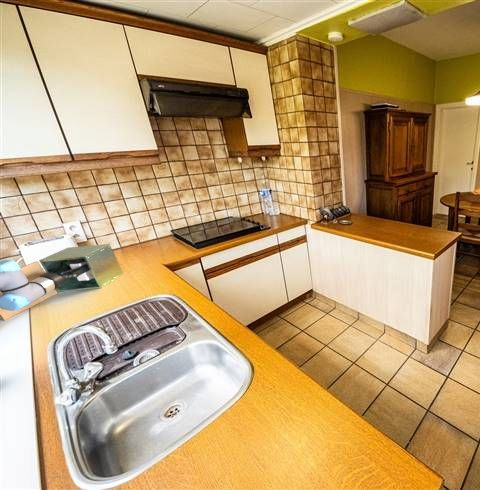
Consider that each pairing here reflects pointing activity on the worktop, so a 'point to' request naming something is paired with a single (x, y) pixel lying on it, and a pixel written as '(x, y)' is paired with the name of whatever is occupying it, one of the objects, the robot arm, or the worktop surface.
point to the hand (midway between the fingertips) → (89, 260)
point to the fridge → (97, 261)
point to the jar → (77, 263)
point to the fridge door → (31, 273)
